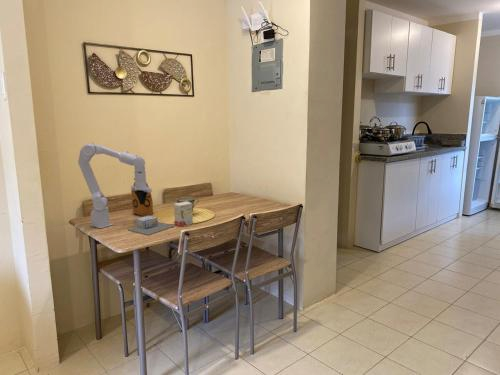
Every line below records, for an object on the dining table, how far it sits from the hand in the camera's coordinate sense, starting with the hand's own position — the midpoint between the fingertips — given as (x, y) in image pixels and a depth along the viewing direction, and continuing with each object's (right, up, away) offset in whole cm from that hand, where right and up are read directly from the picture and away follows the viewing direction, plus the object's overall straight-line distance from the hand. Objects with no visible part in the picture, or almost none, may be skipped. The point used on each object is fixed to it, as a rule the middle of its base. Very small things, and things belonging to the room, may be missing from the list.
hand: (142, 204), depth 202 cm
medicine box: (+1, -9, -4) cm, 10 cm away
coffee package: (-5, -7, +20) cm, 22 cm away
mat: (+8, -12, -9) cm, 17 cm away
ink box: (+23, -11, -3) cm, 26 cm away
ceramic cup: (+23, -7, +16) cm, 29 cm away
